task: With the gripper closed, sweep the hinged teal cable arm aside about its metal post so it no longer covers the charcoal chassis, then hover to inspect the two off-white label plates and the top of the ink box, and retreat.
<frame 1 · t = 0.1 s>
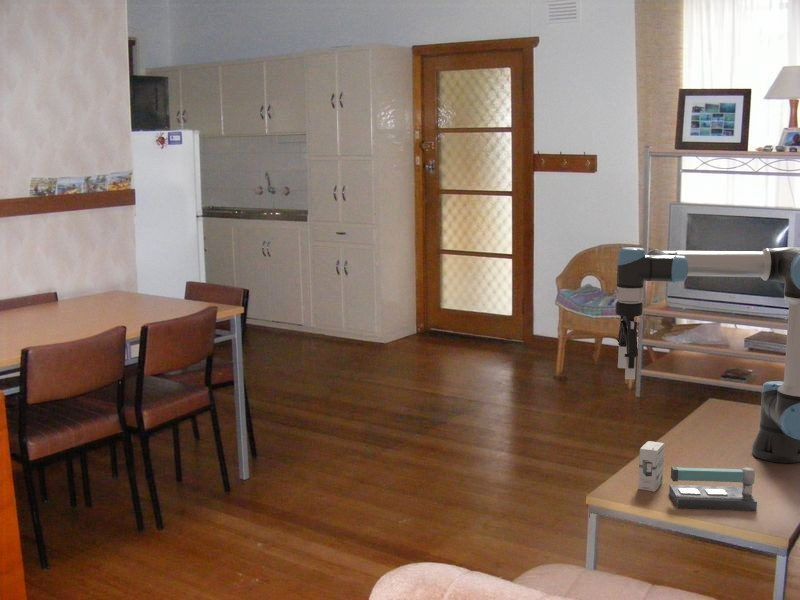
hand: (626, 373, 275), 28 cm above the table, fingers open, 13 cm apart
cable arm: (713, 474, 250), point 7 cm above the table, hinge at 0.0°
chassis: (711, 501, 251), on the table
ink box: (650, 486, 263), on the table
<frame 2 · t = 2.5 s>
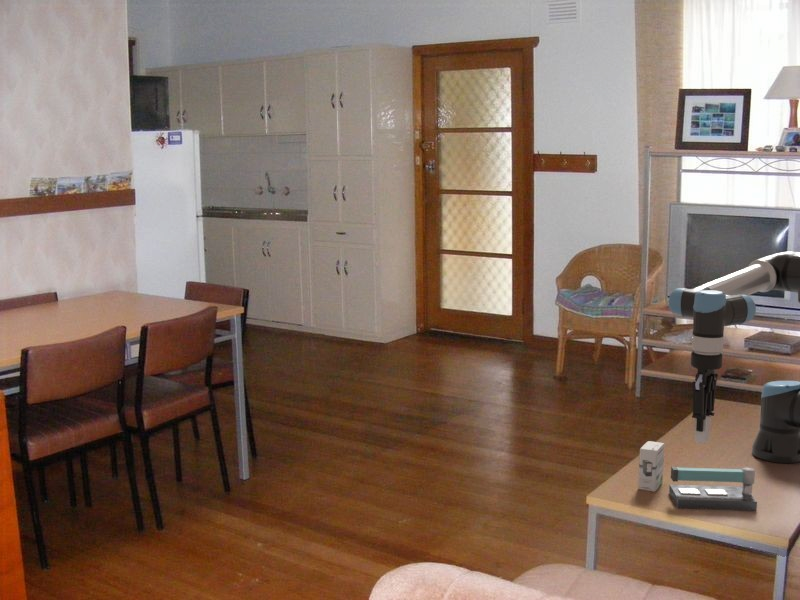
hand: (701, 441, 242), 18 cm above the table, fingers open, 2 cm apart
nothing on the table moved.
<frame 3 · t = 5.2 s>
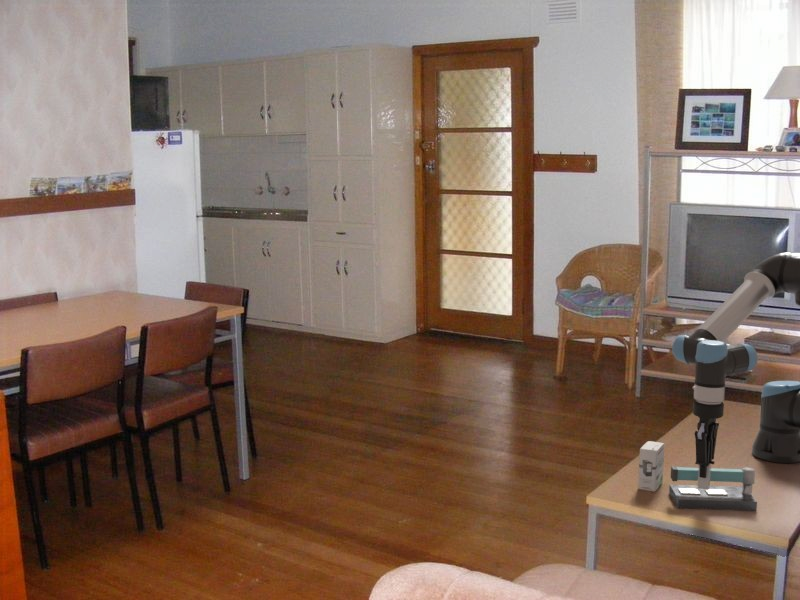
hand: (703, 488, 247), 5 cm above the table, fingers closed
cable arm: (713, 474, 250), point 7 cm above the table, hinge at 0.8°, touching gripper
everything else where it was.
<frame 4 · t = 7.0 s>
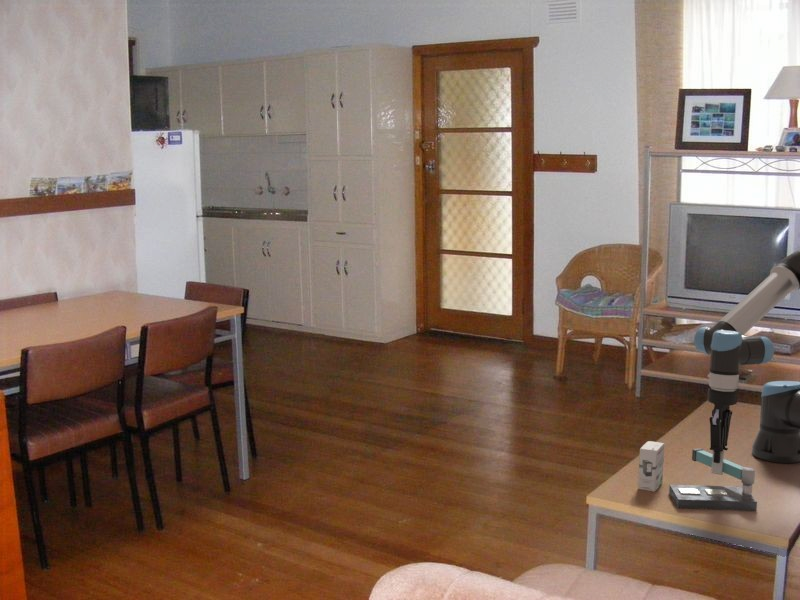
hand: (716, 473, 256), 6 cm above the table, fingers closed
cable arm: (723, 465, 257), point 8 cm above the table, hinge at 61.3°, touching gripper
everything else where it was.
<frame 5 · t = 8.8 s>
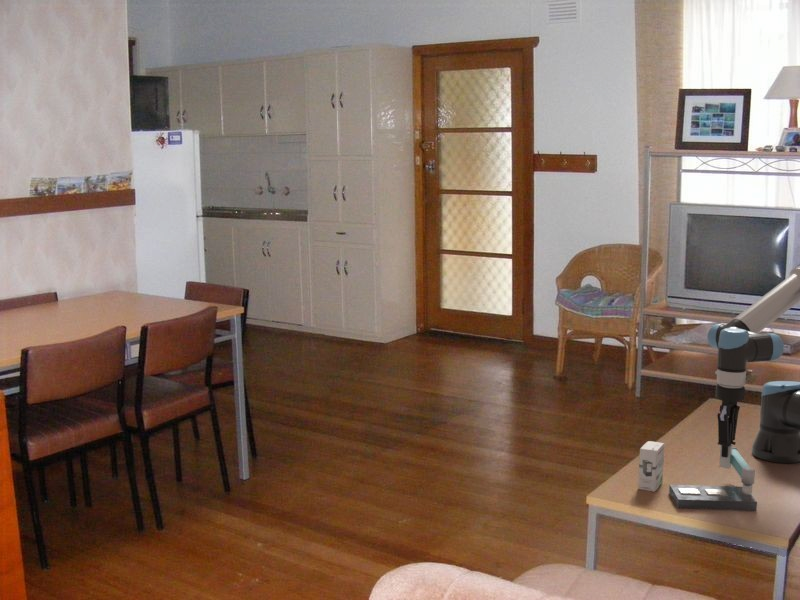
hand: (725, 467, 263), 5 cm above the table, fingers closed
cable arm: (739, 464, 258), point 7 cm above the table, hinge at 92.0°, touching gripper
everything else where it was.
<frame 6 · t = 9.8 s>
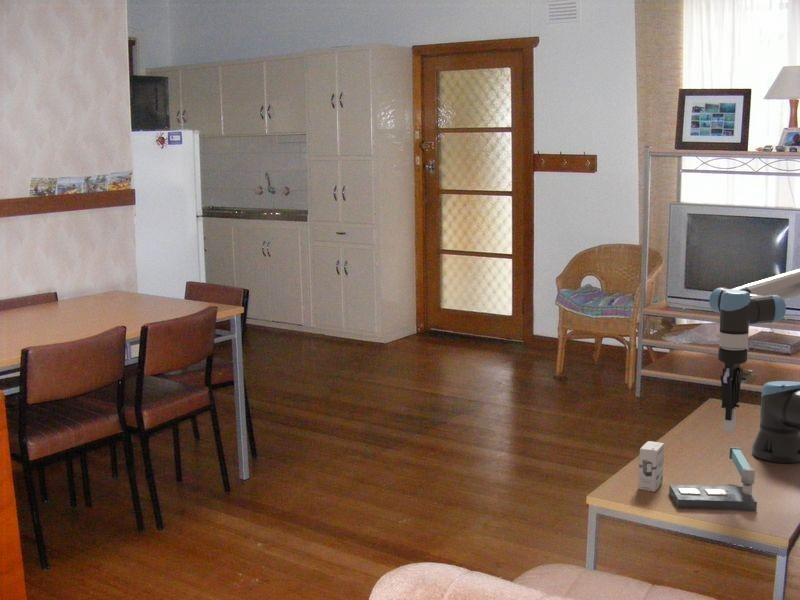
hand: (729, 430, 262), 16 cm above the table, fingers closed
cable arm: (741, 464, 258), point 8 cm above the table, hinge at 95.4°
everything else where it was.
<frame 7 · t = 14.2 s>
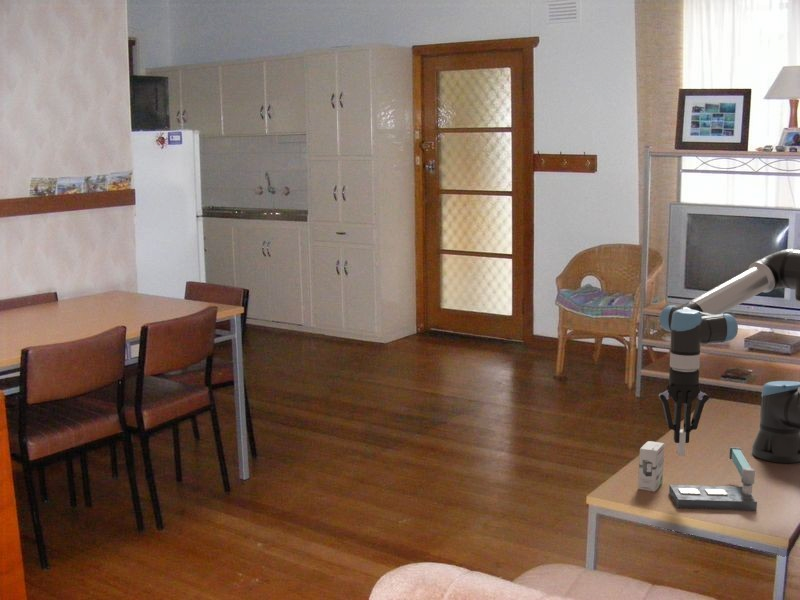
hand: (680, 454, 253), 12 cm above the table, fingers closed
nothing on the table moved.
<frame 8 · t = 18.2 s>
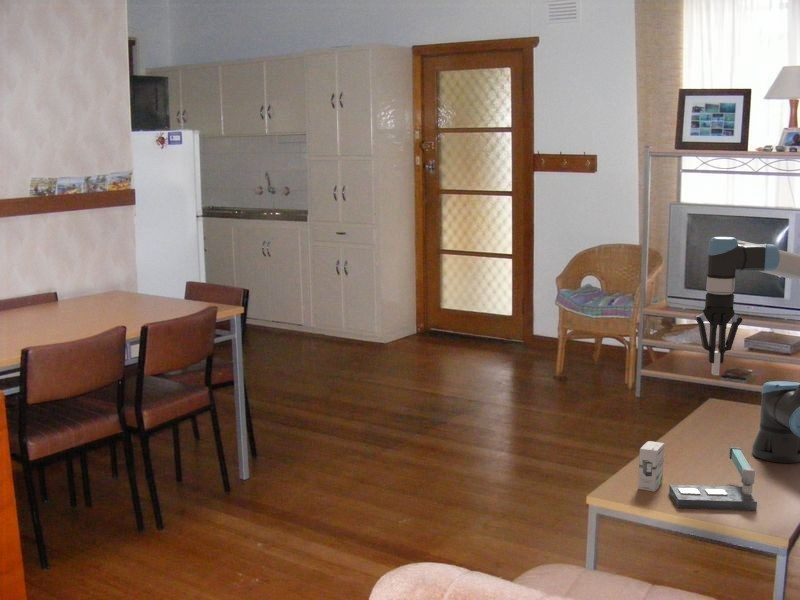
hand: (715, 374, 268), 29 cm above the table, fingers closed
nothing on the table moved.
at the end: cable arm at +95° (first picture: +0°); ink box moved 0.2 cm from its start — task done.
